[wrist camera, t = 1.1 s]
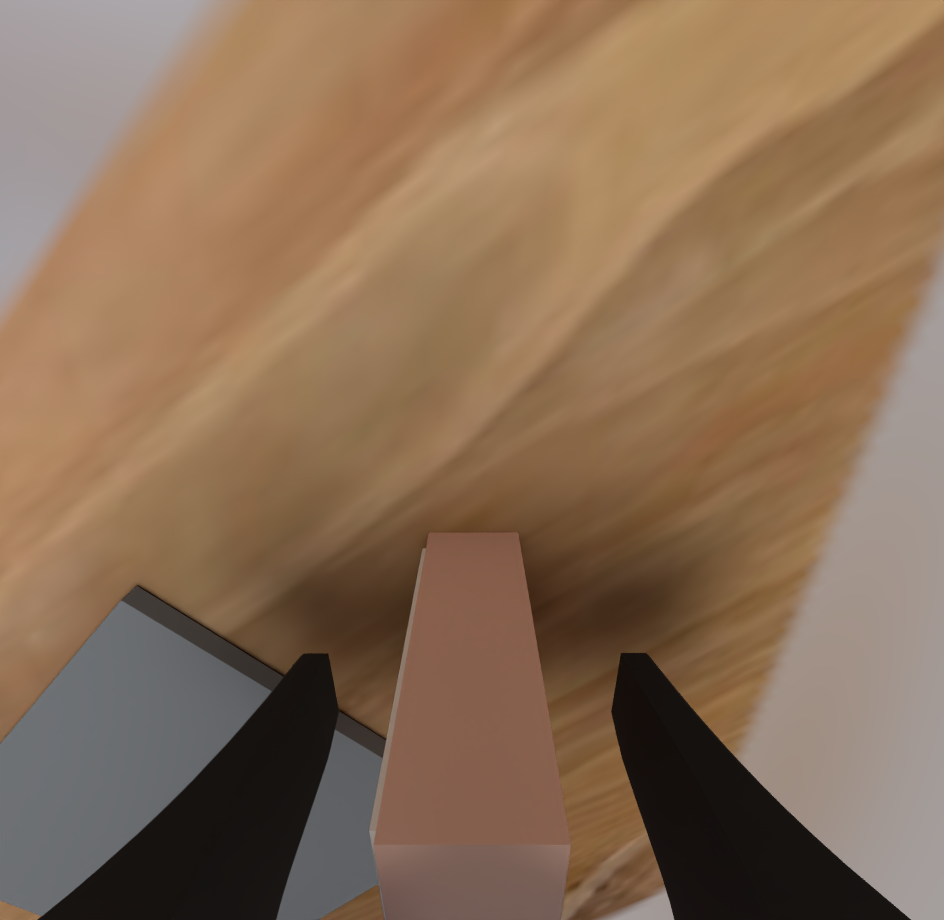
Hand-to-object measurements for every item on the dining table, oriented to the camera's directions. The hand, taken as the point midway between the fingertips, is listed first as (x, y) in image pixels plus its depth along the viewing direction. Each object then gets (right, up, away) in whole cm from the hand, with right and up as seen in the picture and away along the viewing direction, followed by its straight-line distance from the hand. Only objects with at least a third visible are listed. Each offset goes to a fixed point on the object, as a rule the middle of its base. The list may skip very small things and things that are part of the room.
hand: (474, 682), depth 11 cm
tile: (0, +1, +2) cm, 2 cm away
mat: (-11, -8, +6) cm, 15 cm away
